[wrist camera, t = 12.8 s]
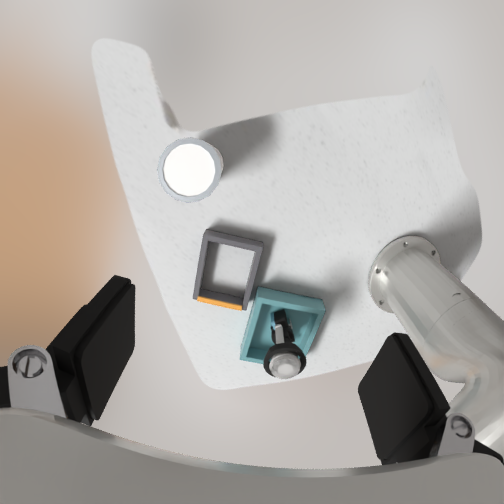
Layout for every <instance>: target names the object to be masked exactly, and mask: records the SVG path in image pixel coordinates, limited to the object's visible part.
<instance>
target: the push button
mask: <svg viewBox="0 0 504 504" xmlns="http://www.w3.org/2000/svg"><path fill="white" fill-rule="evenodd" d="M270 315H271V324H272V325H271V331H272V332H271V338H272V341H273V343H274V344H275V345H273V346H272V347H270V348H269V350H268V352H267V354H266V355H265V358H264V361H263V365H264V369H265V371H266V372H267V373H268V374H270V375H271V376H274V377H277V378H280V379H288V378H292V377H294V376H296V375H297V374H299V373H300V372H302V371H303V369H304V368H305V366H306V357H305V355H304V353H303V351H302V350H301V349H300V348H299V347H298V346H297V345H296V344H294V343H293V342H295V338H294V334H293V331H292V329H293V327H292V322H291V320H290V318H289V320H290V324H288V322H287V317H286V312H285V310H284V309H282V310H279V311H276V312H273V313H270ZM298 356H299V357H300V359H298ZM270 358H271V362H270V361H269V360H270Z"/></svg>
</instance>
